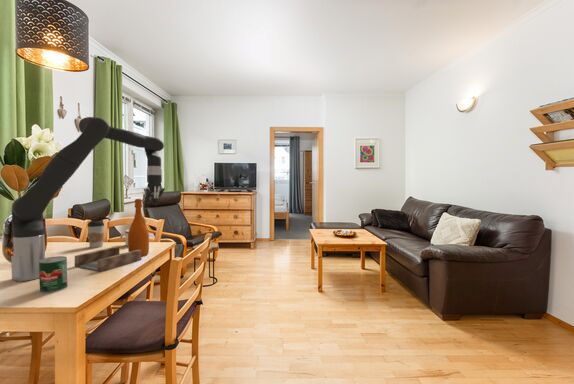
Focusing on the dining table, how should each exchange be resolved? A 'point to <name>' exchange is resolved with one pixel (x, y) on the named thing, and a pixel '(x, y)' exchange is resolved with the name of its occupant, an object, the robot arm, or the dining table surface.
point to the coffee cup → (95, 233)
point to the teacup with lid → (125, 237)
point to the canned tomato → (53, 274)
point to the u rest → (106, 259)
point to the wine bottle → (138, 232)
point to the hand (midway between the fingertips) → (154, 204)
